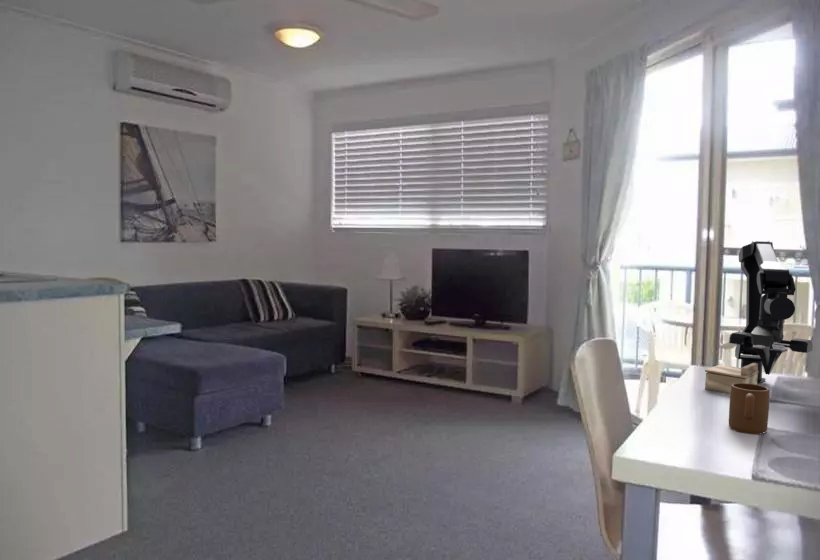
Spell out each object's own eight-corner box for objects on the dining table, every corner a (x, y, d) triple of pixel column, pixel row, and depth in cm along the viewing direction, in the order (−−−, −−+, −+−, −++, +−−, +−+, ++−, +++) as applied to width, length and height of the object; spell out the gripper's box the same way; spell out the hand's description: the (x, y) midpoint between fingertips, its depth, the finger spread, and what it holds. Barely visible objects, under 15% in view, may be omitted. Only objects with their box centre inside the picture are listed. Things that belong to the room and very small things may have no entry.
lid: (719, 366, 192) (719, 357, 192) (758, 372, 185) (759, 363, 185) (705, 371, 184) (705, 362, 184) (745, 378, 177) (746, 368, 177)
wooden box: (718, 383, 192) (719, 367, 192) (756, 389, 185) (757, 373, 185) (704, 389, 184) (705, 372, 184) (744, 396, 177) (745, 379, 177)
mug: (768, 442, 137) (771, 397, 137) (727, 436, 141) (729, 392, 140) (766, 428, 148) (769, 385, 147) (728, 422, 151) (731, 381, 151)
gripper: (723, 313, 178) (720, 372, 179) (803, 321, 165) (798, 384, 166) (738, 311, 186) (734, 367, 187) (815, 318, 173) (810, 378, 174)
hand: (767, 374), depth 178 cm, fingers closed
